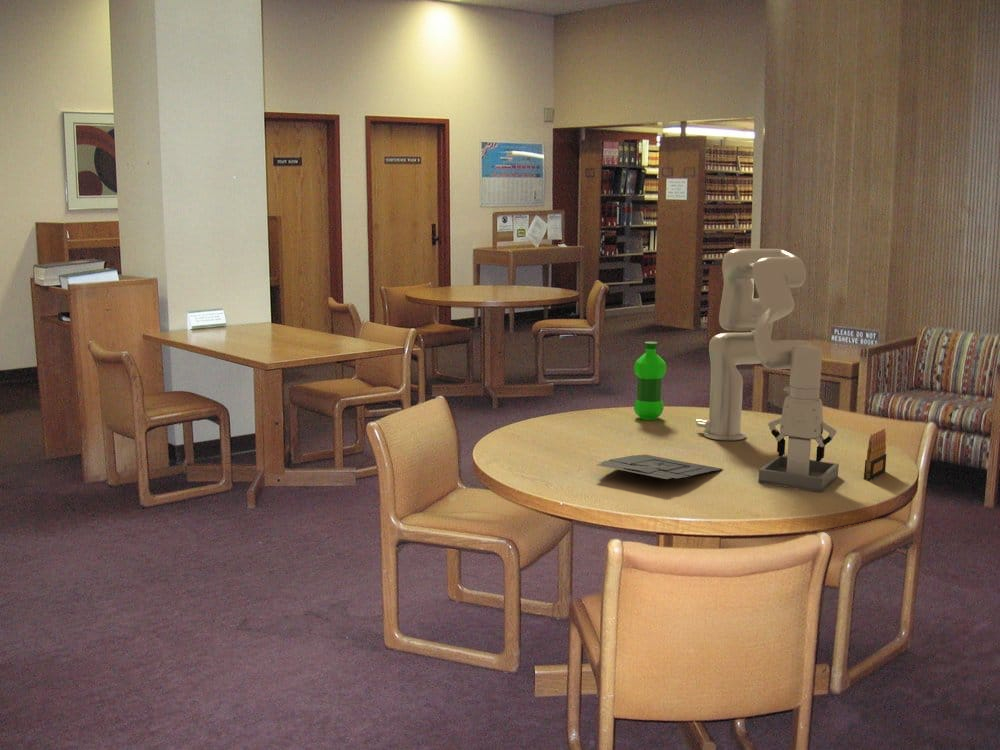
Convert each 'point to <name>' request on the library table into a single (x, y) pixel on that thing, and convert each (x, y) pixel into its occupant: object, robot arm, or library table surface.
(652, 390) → the plastic bottle
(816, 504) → the library table surface
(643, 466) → the dark grey grooved panel
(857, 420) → the library table surface
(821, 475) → the tray
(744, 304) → the robot arm
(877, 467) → the ammunition clip
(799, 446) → the small box
